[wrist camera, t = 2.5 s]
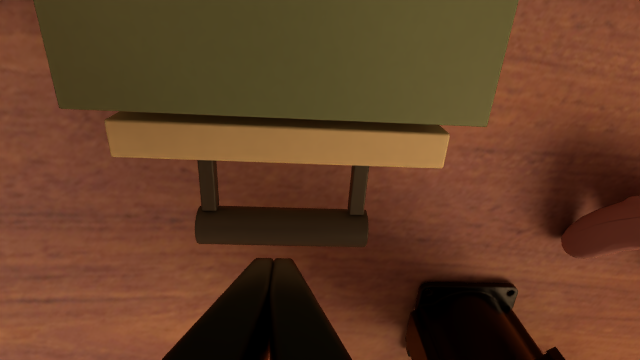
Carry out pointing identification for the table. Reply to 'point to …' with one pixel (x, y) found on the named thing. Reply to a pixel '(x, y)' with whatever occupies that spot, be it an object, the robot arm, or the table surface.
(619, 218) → the pink toy car
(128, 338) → the table surface
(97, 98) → the cabinet
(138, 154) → the drawer
